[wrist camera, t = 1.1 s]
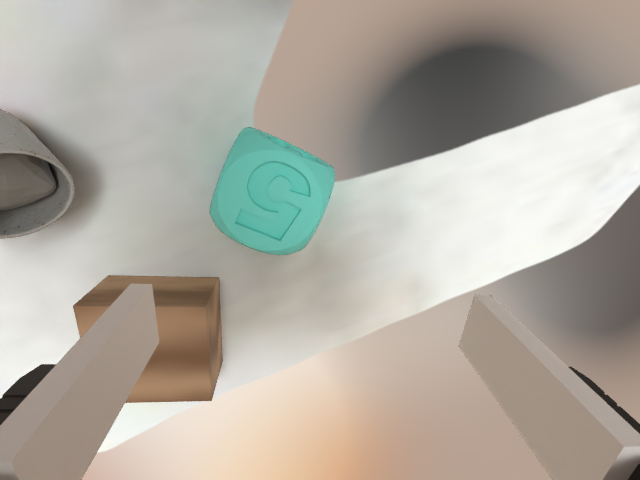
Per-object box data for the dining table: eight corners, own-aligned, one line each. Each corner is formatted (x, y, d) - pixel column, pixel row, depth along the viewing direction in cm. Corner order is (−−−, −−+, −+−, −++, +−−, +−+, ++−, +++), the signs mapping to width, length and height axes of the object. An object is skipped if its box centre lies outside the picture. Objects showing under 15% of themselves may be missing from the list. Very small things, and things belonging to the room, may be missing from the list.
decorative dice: (221, 203, 31) (200, 229, 24) (251, 125, 29) (237, 126, 21) (296, 234, 33) (298, 267, 26) (329, 162, 31) (342, 175, 23)
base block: (109, 274, 33) (72, 305, 27) (219, 276, 34) (205, 307, 28) (125, 360, 37) (95, 403, 31) (222, 359, 38) (211, 400, 32)
